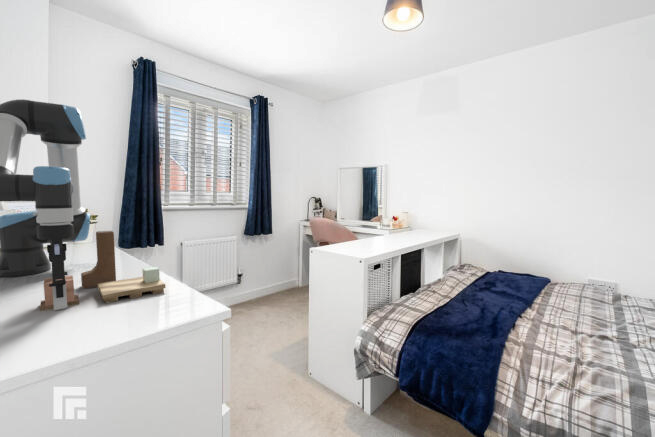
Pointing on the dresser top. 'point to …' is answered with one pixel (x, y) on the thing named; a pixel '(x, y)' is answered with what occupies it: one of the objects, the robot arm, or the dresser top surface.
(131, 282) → the wooden pallet
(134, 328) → the dresser top surface
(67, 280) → the pink slab on base
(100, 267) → the wooden block
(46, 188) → the robot arm
